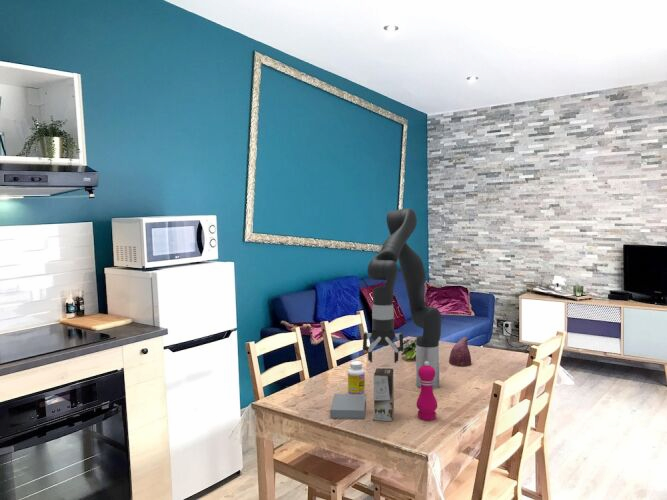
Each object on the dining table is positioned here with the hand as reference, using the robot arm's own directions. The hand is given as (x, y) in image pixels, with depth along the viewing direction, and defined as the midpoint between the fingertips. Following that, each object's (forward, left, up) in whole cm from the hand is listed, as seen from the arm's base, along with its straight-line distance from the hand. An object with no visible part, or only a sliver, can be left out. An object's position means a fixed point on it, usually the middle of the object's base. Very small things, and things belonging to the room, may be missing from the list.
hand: (383, 362), depth 179 cm
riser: (+13, -5, -20) cm, 24 cm away
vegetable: (-36, -65, -20) cm, 77 cm away
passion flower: (-14, -73, -20) cm, 77 cm away
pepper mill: (-15, 0, -20) cm, 25 cm away
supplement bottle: (+11, -21, -20) cm, 31 cm away
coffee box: (0, 0, -20) cm, 20 cm away
